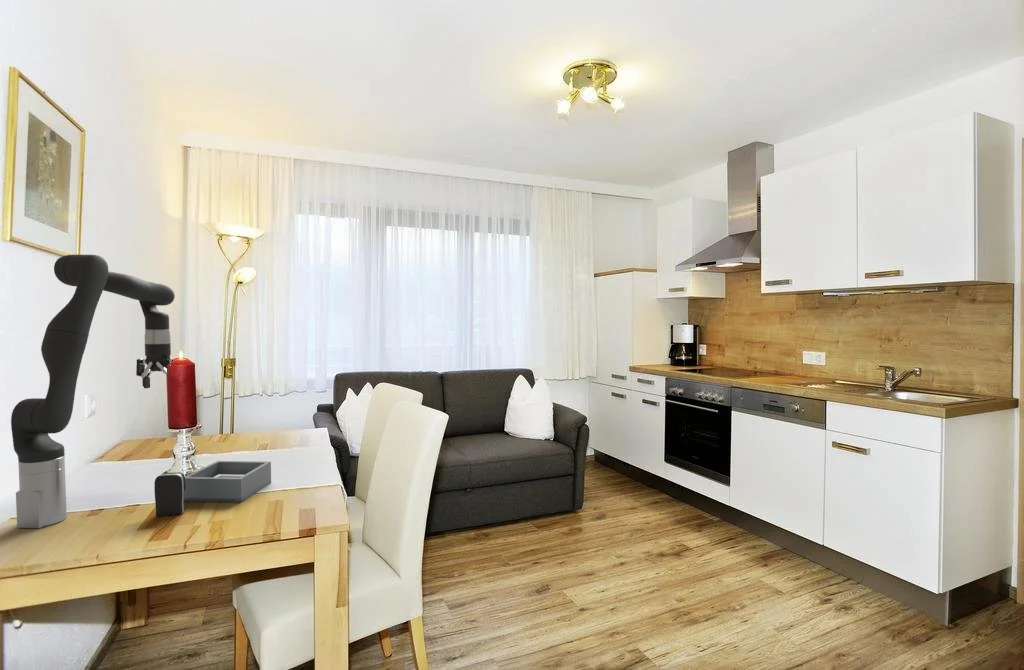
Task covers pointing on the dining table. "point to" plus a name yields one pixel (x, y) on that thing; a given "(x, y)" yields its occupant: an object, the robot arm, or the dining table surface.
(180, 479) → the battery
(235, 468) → the walled box
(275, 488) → the dining table surface
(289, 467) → the dining table surface
